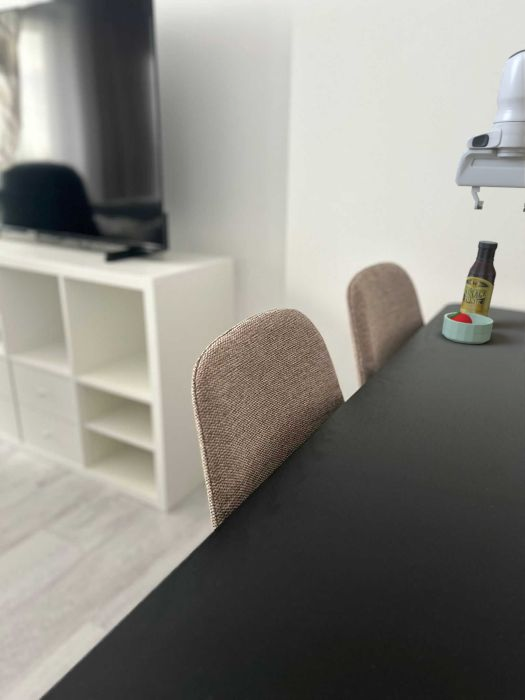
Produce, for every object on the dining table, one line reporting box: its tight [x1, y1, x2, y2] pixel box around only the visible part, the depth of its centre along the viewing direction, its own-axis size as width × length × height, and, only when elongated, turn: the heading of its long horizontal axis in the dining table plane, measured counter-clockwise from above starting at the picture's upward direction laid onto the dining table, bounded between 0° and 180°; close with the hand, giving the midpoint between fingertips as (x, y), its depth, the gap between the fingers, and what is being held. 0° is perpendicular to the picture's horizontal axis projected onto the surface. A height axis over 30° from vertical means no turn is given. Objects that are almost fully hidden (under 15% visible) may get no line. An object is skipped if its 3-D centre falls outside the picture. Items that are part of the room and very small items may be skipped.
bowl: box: [441, 311, 494, 345], centre depth 113 cm, size 10×10×4 cm
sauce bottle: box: [459, 240, 499, 317], centre depth 120 cm, size 7×6×20 cm
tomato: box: [450, 310, 472, 324], centre depth 113 cm, size 5×5×5 cm
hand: (502, 210), depth 107 cm, fingers open, 8 cm apart
